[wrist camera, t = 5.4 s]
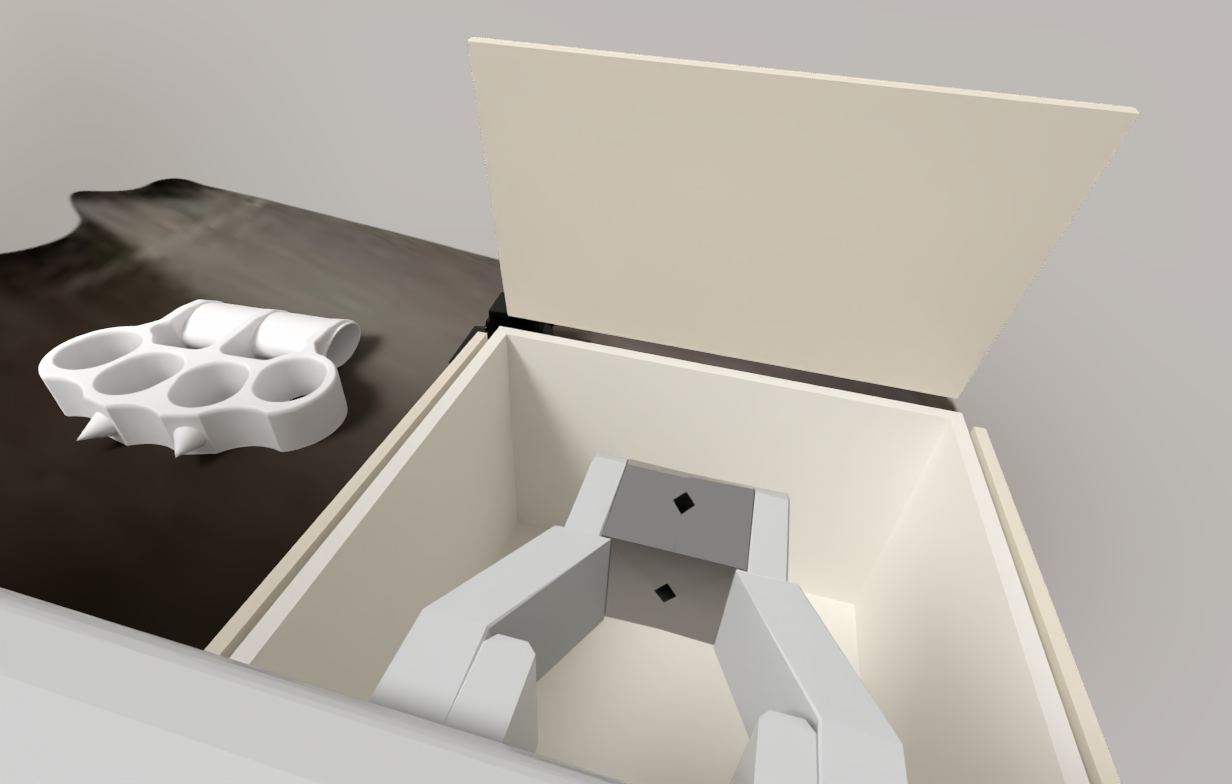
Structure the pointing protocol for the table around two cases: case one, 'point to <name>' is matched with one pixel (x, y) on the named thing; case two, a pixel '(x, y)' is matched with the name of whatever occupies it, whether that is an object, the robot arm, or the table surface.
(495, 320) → the black angular piece
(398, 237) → the table surface
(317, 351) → the spiked knuckle duster
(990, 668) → the carton
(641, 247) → the carton flap
